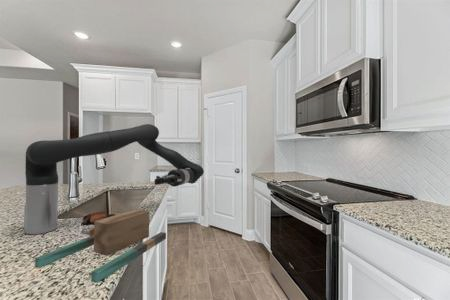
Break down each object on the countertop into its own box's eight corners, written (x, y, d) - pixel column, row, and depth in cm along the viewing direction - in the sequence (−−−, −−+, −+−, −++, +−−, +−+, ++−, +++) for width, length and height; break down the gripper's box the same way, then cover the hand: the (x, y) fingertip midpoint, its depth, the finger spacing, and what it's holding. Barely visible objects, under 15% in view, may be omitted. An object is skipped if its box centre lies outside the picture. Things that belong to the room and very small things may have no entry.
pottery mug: (80, 240, 75) (76, 216, 78) (87, 242, 83) (84, 221, 86) (118, 226, 80) (113, 205, 82) (122, 230, 88) (117, 210, 91)
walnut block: (93, 251, 65) (94, 221, 66) (136, 234, 80) (136, 209, 80) (107, 256, 63) (108, 224, 63) (148, 237, 77) (149, 211, 77)
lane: (35, 265, 57) (35, 258, 57) (117, 231, 82) (117, 225, 82) (97, 282, 50) (98, 273, 50) (165, 238, 76) (165, 232, 76)
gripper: (166, 168, 106) (142, 171, 90) (191, 169, 102) (170, 173, 85) (166, 184, 106) (142, 190, 90) (191, 186, 102) (170, 192, 85)
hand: (156, 181), depth 87 cm, fingers closed
